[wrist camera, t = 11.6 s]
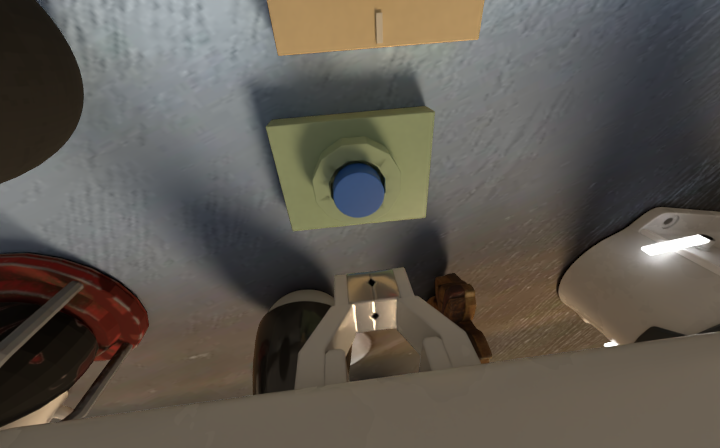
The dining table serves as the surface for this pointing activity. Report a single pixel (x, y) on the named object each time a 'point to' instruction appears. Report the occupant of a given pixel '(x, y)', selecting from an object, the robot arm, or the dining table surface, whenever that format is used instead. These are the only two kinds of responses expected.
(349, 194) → the button
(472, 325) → the wooden carving
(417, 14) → the dial panel
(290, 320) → the pump dispenser
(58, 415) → the mug
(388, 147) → the button housing
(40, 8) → the decorative egg
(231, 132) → the dining table surface
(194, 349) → the dining table surface
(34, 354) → the hourglass
